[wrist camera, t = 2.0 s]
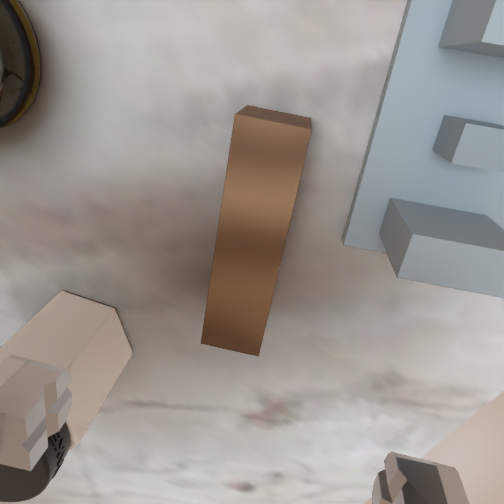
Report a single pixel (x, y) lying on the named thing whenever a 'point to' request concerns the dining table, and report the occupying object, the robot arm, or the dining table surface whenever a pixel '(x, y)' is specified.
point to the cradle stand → (439, 151)
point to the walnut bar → (253, 225)
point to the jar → (82, 371)
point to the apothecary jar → (17, 63)
